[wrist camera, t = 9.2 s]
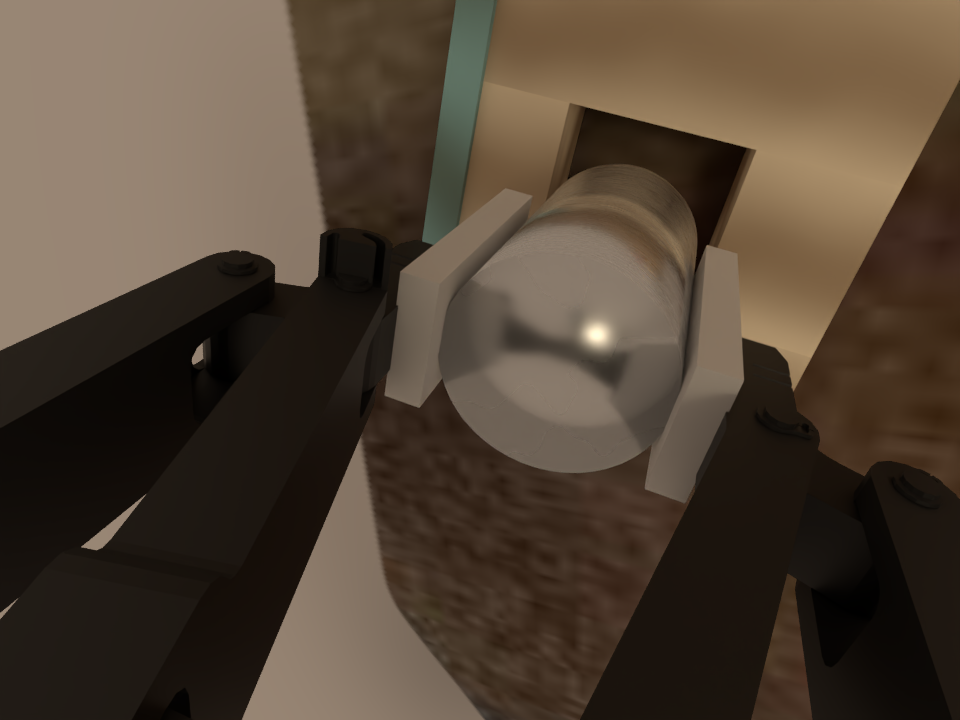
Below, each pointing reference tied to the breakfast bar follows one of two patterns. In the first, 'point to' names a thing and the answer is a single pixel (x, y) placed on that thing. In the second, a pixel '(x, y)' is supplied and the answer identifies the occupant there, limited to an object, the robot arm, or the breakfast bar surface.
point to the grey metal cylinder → (578, 324)
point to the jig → (711, 122)
